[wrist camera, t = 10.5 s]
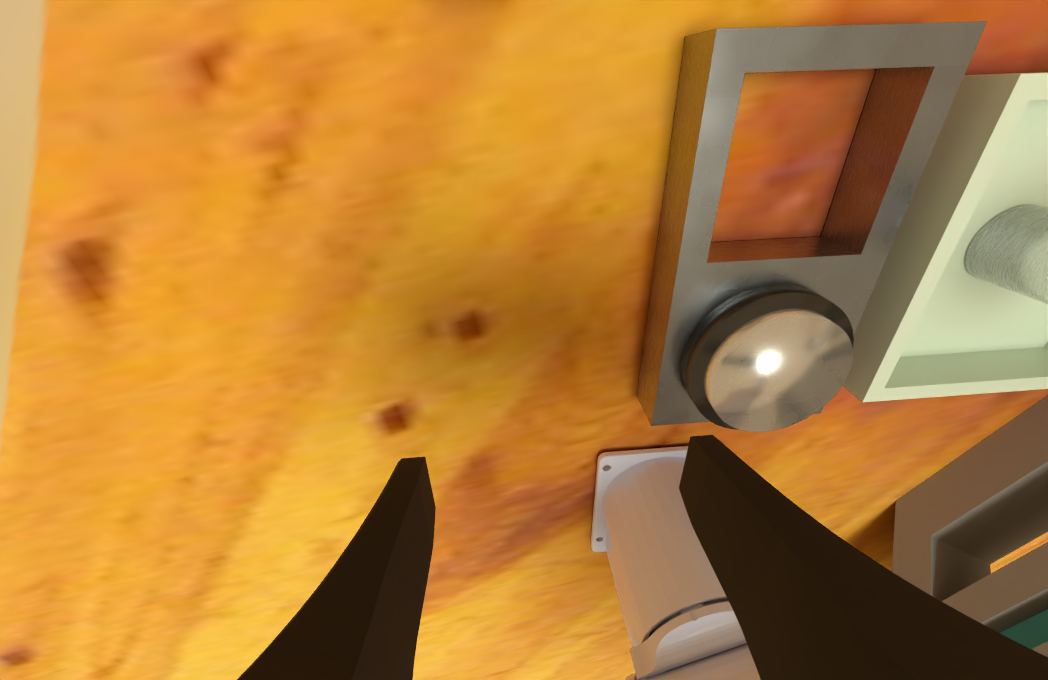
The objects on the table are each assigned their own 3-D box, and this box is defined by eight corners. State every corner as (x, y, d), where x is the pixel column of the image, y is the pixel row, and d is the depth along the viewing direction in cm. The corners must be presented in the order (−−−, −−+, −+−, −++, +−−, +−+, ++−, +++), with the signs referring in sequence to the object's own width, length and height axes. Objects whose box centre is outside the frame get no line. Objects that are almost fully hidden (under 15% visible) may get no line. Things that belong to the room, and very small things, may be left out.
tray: (1038, 353, 25) (1103, 384, 22) (822, 368, 24) (862, 402, 21) (1240, 65, 17) (1370, 61, 15) (939, 75, 17) (1020, 73, 14)
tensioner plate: (791, 384, 24) (848, 440, 21) (636, 395, 24) (665, 454, 20) (920, 30, 16) (1058, 11, 12) (684, 36, 16) (750, 20, 12)
